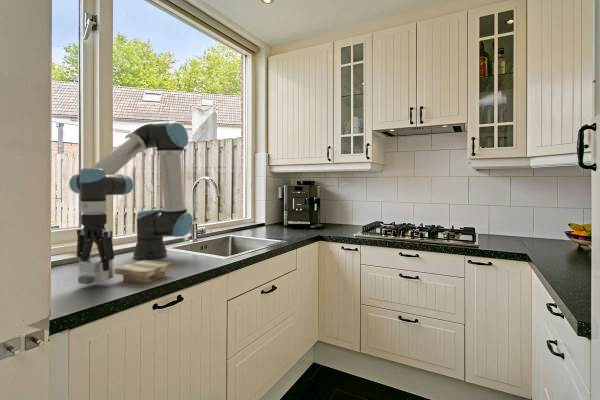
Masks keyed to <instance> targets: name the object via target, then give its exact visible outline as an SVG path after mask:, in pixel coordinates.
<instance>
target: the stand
mask: <svg viewBox="0 0 600 400" xmlns="http://www.w3.org/2000/svg"><path fill="white" fill-rule="evenodd" d="M171 269H173V263H172V262H166V261H157V260H150V259H141V260H139V261H136V262H132V263H128V264H125V265H121V266H118V267H115V268H114V269H113V273H114V274H113V275H120V276H122V280H123V282H127V283H129V282H130V283H136V284H142V285H146V284H149V283H151V282H154V281H156V280H158V279H162V278H164V277H165V275H166V274H165V272H166V271H168V270H171Z"/></svg>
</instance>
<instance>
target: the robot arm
mask: <svg viewBox="0 0 600 400" xmlns="http://www.w3.org/2000/svg"><path fill="white" fill-rule="evenodd" d="M188 143H189V134H188V131H187V129H186V127H185V125H184V124H182V123H181V122H179V121H174V120H173V121H172V120H170V121H150V122H145V123H143V124H141V125H140V126H139V125H138V127H135V128H134V129H133V130H131V131H130V132H129V133H127V134H126V136H125V138H124V140H123V141H122V142H121V143H119V144H118V145H117V146H115V148H113V149H112V150H111V151H110V152H108V153H107V154H106V155H105V156H103V158H101V159H100V160H99V161H98V162H96V163H95V164H94V165H93V166H92V167H90V168H87V167H86V168H82V169H80V171H79V174H78V173H77V174H74V175H72V176H71V177H70V178H69V179H70V180H69V182H68V186H69V188H70V190H71V191H72V192H73V193H75V194H79V195H80V197H79V200H80V212H81V215H80V223H81V226H83V228H81V229H77V230H76V234H77V235H76V236H77V243H76V246H77V247H76V257H77V258H80V261H82V260H86V259H90V258H92V256H91V252H92V248H93V245H94V244H96V248H97V251H98V254H99V257H100V258H101V261H99V265H100V281H101V282H104V281H107V280H109V279H108V270H109V261H110V260H112V261H113V260H114V259H115V253H114V245H113V244H114V243H113V231H112V230H107V229H106V227H105V225H106V224H107V223H108V218H107V217H108V216H107V214H106V212H107V211H108V210H107V207H108V206H107V196H118V195H119V196H120V195H121V196H123V195H127V194H128V195H129V194H130V193H131V192H132V190H133V189H134V182H133V179H132V177H130V176H129V175H127V174H126V175H125V174H117V173H118V172H119V171H120V170H121V169H122V168H123V167H124V166H126V164H128V163H129V162H130V161H132V159H134V157H136V156H137V155H138V154H139V153H143V152H145V151H146V150H147V149H151V148H156V152H157V153H158V154H159V155H160V164H161V165H160V166H161V179H162V180H161V181H162V195H163V207H162V208H155V209H149V210H146V209H145V210H139V211H138V212H137V213H136V244H135V246H134V248H135V249H134V251H133V255H132V256H133V257H132V258H133V259H135V260H157V259H162V258H165V257H166V256H167V257H168V250H167V249H166V248H167V247H166V245H165V242H164V237H174V238H179V237H180V238H181V237H185V236H187V235H188V234H189V233H190V232H191V230H192V227H193V216H192V214H191V213H189V212H188V210H187V209H188V208H187V207H186V206H185V205H184V197H183V179H182V177H183V175H182V161H181V160H182V159H181V155H182V154H183V152H184V148H185V147H187V145H188ZM104 257H105V258H104ZM106 279H107V280H106ZM103 280H104V281H103Z"/></svg>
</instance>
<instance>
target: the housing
mask: <svg viewBox="0 0 600 400" xmlns="http://www.w3.org/2000/svg"><path fill="white" fill-rule="evenodd" d="M104 258H105V257H104ZM99 261H101V258H100V256H94V257H91V258H90V259H89V258H88V259H86V260H79V261H78V263H79V264H78V268H79V269H78V270H79V271H78V273H79V276H78V277H77V278H78V284H82V285H90V284H98V283H100V282H104V281H107V280H110V279H113V277H114V274H113V273H114V269H113V265H114V264H113V259H112V260H110V261H109V270H108V279H106V280H103V281H100V265H99Z"/></svg>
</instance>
